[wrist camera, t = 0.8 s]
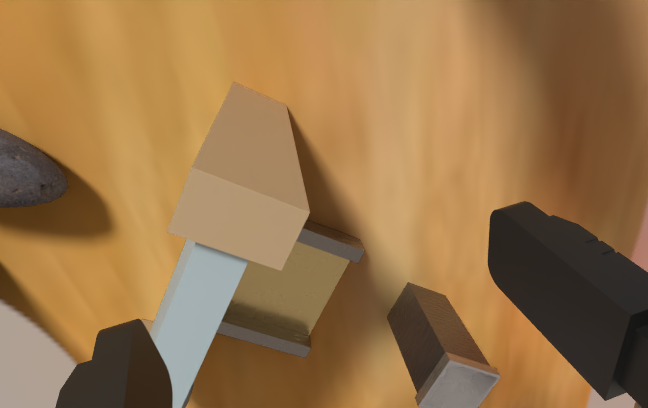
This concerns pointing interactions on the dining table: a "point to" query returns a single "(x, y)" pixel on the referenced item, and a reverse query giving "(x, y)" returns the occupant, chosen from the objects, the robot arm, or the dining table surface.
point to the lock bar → (439, 351)
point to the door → (228, 226)
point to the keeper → (290, 291)
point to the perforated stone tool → (27, 174)
